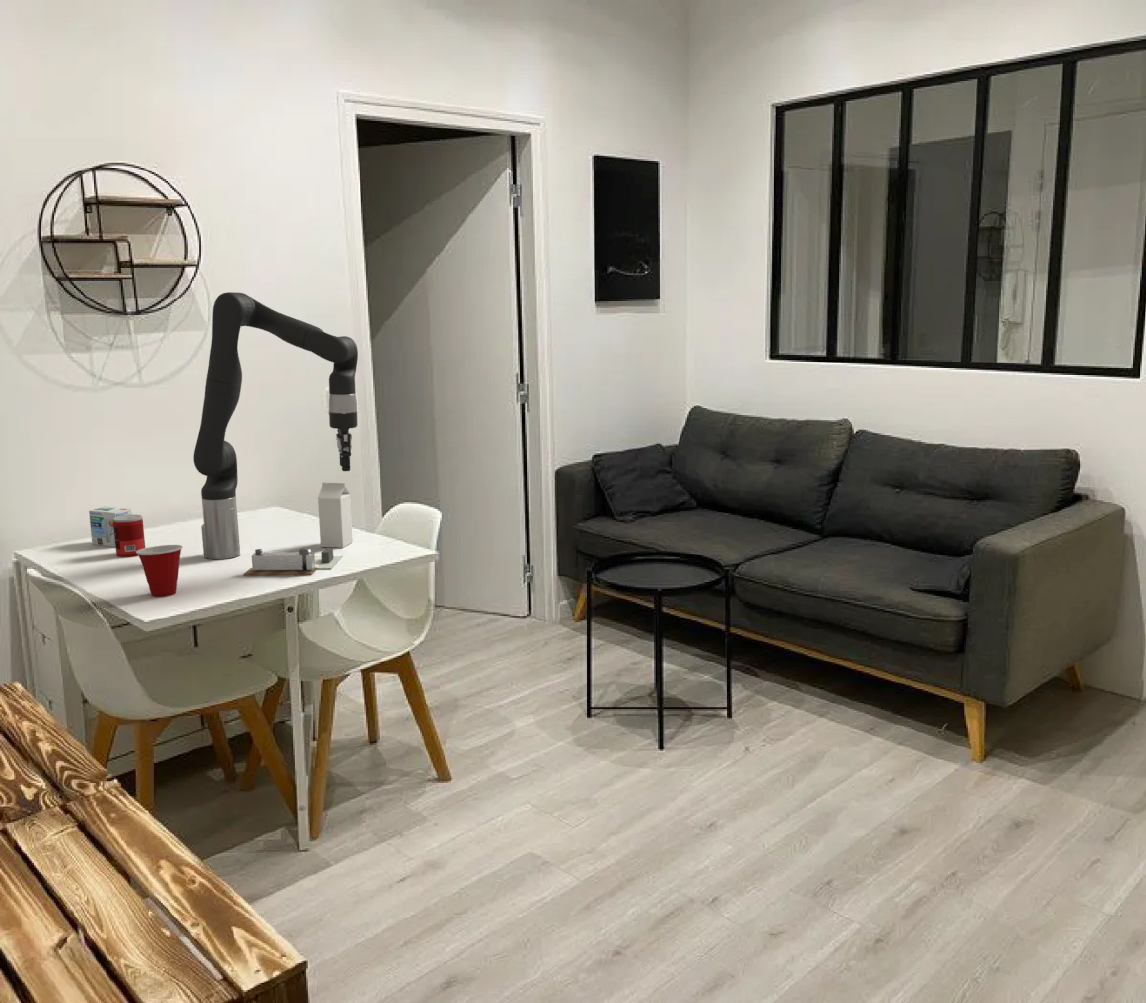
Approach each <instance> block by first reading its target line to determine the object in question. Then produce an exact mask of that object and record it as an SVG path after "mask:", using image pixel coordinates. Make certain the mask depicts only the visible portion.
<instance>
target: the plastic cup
mask: <svg viewBox="0 0 1146 1003" xmlns="http://www.w3.org/2000/svg"><path fill="white" fill-rule="evenodd" d="M182 549H183V545H180V544H164V545H158V546H157V545H156V546H149V547H145V548H144V549H140V550H138V551H136V553H137V554H138V556H137V557H138V559H139V560H140V563H141V565H142V568H143V572H144V576H145V580H146V583H147V584H148V588H149V591H150V594H151V596H152V597H156V598H163V597H169V596H170V597H171V596H173V595H175V594H176V593H177V589H178V588H177V587H178V580H179V579H178V578H179V568H180V559H181V554H182Z"/></svg>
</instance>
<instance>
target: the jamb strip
mask: <svg viewBox="0 0 1146 1003" xmlns="http://www.w3.org/2000/svg"><path fill="white" fill-rule="evenodd" d="M317 570H318V569H317V567H314V568H313V569H312V570H253V568H252V567H250V568H249V569H247V570H245V572H244V573H243V577H258V576H259V577H266V576H267V577H269V576H271V577H272V576H273V577H274V576H277V577H278V576H283V577H284V576H285V577H286V576H288V577H289V576H291V575H294V576H313V574H314V573H315V572H316V571H317Z"/></svg>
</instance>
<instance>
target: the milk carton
mask: <svg viewBox="0 0 1146 1003" xmlns="http://www.w3.org/2000/svg"><path fill="white" fill-rule="evenodd" d="M321 483H322V484H321V485H322V486H321V489H320V491H319V494H318V497H317V500H318V503H317V504H318V521H319V523H318V524H319V537H320V538H319V539H320V547H322V548H342V549H343V548H345V547H346V546H349V545H350V544H352V543H353V542H354V540H353V539H354V538H353V526H352V525H353V522H352V520H353V517H352V505H351V504H352V502H351V493H350V492H349V489H347V487H346V483H345V482H327V481H325V482H321Z"/></svg>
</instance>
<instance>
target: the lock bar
mask: <svg viewBox="0 0 1146 1003" xmlns="http://www.w3.org/2000/svg"><path fill="white" fill-rule="evenodd" d="M254 551H255V552H254V553H253V554H252V555H251V565H252V566H251V568H252V567H253V570H312V569H313V568H314V567H315V552H314V551H313V552H312V548H311V547H303V548H299V549H298V551H297V552H292V551H291V552H290V551H289V552H263V548H256V549H254Z"/></svg>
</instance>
